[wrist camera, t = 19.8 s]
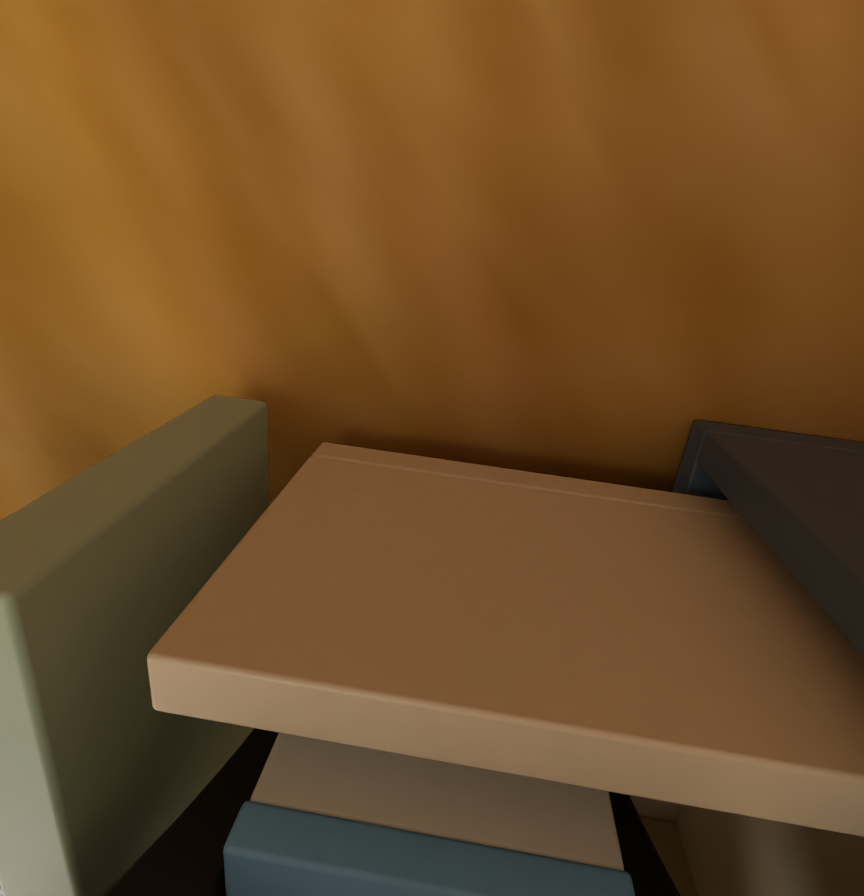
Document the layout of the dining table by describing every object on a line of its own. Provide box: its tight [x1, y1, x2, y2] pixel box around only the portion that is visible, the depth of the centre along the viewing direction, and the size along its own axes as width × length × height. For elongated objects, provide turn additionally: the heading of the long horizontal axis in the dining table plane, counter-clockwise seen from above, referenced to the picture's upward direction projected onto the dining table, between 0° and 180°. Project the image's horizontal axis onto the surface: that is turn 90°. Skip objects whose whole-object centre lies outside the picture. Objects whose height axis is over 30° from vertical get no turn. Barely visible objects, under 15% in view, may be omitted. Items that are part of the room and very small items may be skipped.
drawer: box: [0, 395, 864, 896], centre depth 10 cm, size 17×10×6 cm, turn 84°
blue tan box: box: [223, 733, 635, 896], centre depth 9 cm, size 5×5×5 cm
